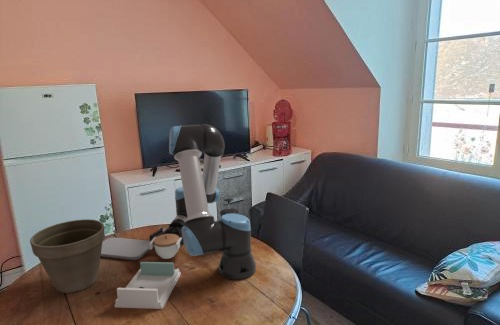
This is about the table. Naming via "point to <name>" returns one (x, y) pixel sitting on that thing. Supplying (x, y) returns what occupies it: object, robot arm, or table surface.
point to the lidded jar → (166, 245)
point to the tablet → (124, 248)
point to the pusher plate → (157, 268)
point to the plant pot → (70, 253)
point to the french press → (229, 211)
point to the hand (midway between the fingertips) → (163, 246)
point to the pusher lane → (147, 291)
